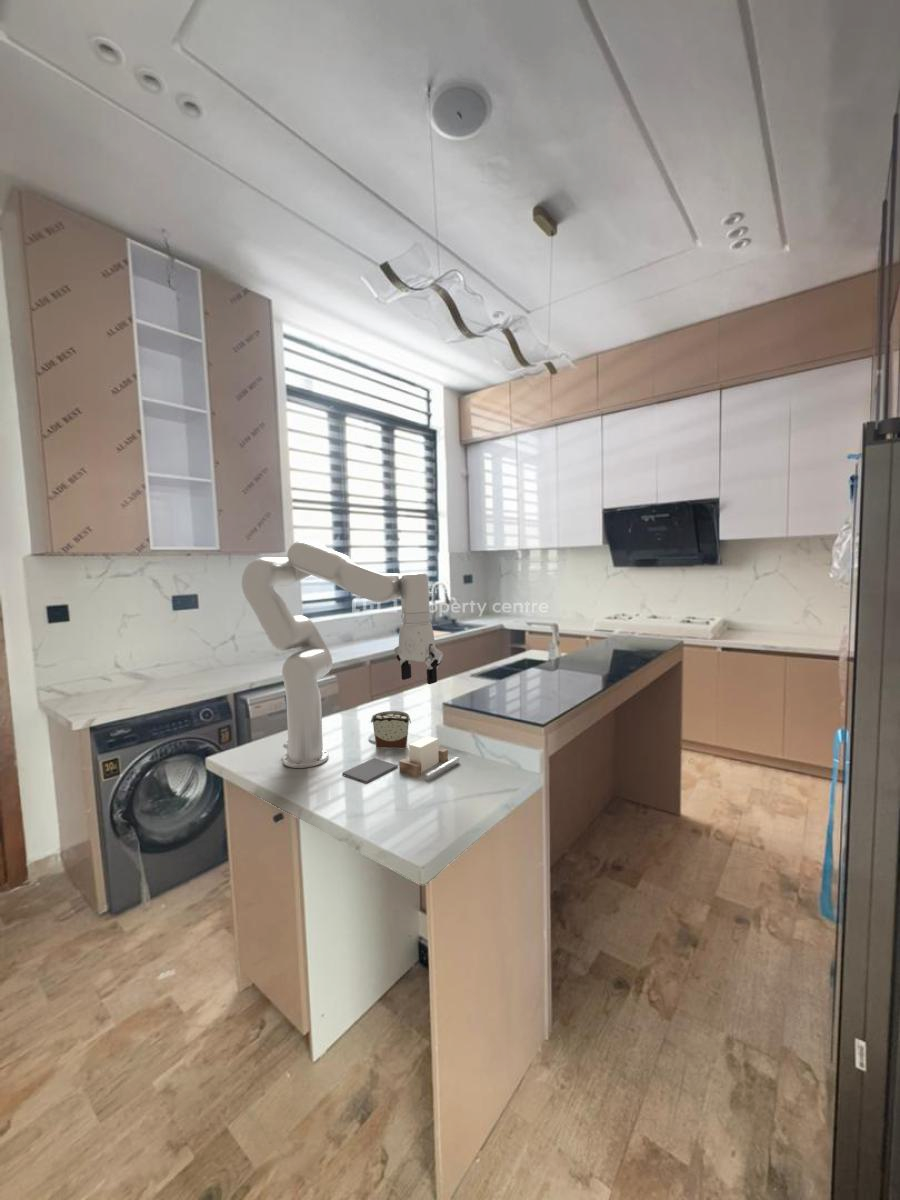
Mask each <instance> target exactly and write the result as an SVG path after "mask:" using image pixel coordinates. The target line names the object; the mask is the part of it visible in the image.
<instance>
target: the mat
mask: <svg viewBox="0 0 900 1200" xmlns="http://www.w3.org/2000/svg"><path fill="white" fill-rule="evenodd" d="M398 765H399V764H395V763H392V762H388V761H386V760H383V759H378V758H375V757H373V758H371V759H369V760H367V761H365V762H363V763H361V764H358V765H356V766H354V767H351V768H350V769H347V770H346V771H343V772H342V776H344V775H345V777H347V776H348V778H350V779H353V780H356V779H357V780H356V781H358V780H360V781H359V782H361V781H362V783H364V782H365V784H368V783H370V782H372V781H373V779H374V780H376V779H377V778H380V777H382V776H384V775H385V774H387V773H389V772H392V771H393V770H395V769H397V768H398ZM379 776H380V777H379ZM375 778H376V779H375ZM371 780H372V781H371ZM369 781H370V782H369ZM367 782H368V783H367Z"/></svg>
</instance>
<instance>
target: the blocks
mask: <svg viewBox="0 0 900 1200" xmlns="http://www.w3.org/2000/svg"><path fill="white" fill-rule="evenodd" d="M438 749H439V762H441V763H442V762H443V763H442V764H441V765H439V766H438V767H436V768H433V769H431V770H430V771H428V772H427V773H425V781H427V782H430V781H432V780H433V779H435V778H436V777H438V776H440V775H442V774H443V773H445V772H447V771H449V770H450V769H451V767H452V768H454V767H455V766H456V764H457V765H458V764H460V757H459V756H455V757H452V759H450V760H449V759H448V758H449V755H448V754H449V751H448V749H447V748H442V747H439V746H438ZM446 760H447V761H446ZM398 765H399V772H400V773H401V774H404V775H408V776H411V777H414V778H418V777H420V776H421V775H422V772H421V764H420V763H417V762H413V761H410V760H409V759H406V758H403V759H401V760H399V762H398ZM454 765H455V766H454Z"/></svg>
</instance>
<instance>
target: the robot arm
mask: <svg viewBox="0 0 900 1200" xmlns="http://www.w3.org/2000/svg"><path fill="white" fill-rule="evenodd" d="M310 576H313V577H316V578H318V579H322V580H324V581H326V582H330V583H332V584H334V585H336V586H337V587H339V588H341V589H343V590H345V591H347V592H348V593H351V594H353V595H355V596H358V597H360V598H363V599H366V600H368V601H371V602H375V603H386V602H390V601H393V600H400V601H401V603H400V604H401V615H400V617H401V619H402V620H401V622H402V623H400V624H399V632H398V633H399V634H398V645H397V646H396V647H395V648H394V649H393V651H394V653H395V655H396V659H397V660H398V662H399V666H400V671H401V680H403V681H405V680H409V679H411V678H412V665H411V663H410V662H416V663H423V662H424V663H425V665H426V667H427V669H426V683H427V684H428V685H432V684H435V683H437V682H438V675H437V674H438V673H437V669H438V668H439V665H440V664H441V662H442V659H443V656H444V653H443V651H441V650H440V649H438V648H437V647H436V641H435V634H434V629H433V625H432V623H431V612H430V611H431V610H430V608H431V607H430V589H429V578H428V577H429V576H428V575H427V574H426V573H424V572H409V573H407V572H406V573H394V572H393V573H392V572H391V573H390V572H389V573H380V572H377V571H374V570H370V569H368V568H365V567H363V566H360V565H358V564H356V563H354V562H353V561H352V559H350V557H349V556H348V555H346V554H343V553H342V552H338V551H335V550H333V549H329V548H328V547H327V546H326V545H325V544H323V543H321V542H318V541H312V540H311V541H310V540H298V541H296V542H294V543H291V545H290V546H289V547H288V550H287V553H286V556H283V557H278V556H276V557H274V556H264V557H259V558H258V557H257V558H256V559H253V560H252V561H249V563H248V564H247V565H246V566H245V568H244V570H243V573H242V576H241V587H242V588H241V589H242V591H243V594H244V597H245V599H246V600H247V602H248V604H249V606H250V607H251V608H252V610H253V612H254V613H255V615H256V617H257V619H258V621H259V623H260V625H261V627H262V629H263V631H264V632H265V635H266V636H267V638H268V640H269V642H270V644H271V645H272V647H273V649H275V650H277V651H278V652H288V651H289V652H290V651H293V650H294V651H295V652H294V653H292V654H291V655H289V656H288V657H287V658H286V659H285V661H284V662H283V665H282V670H281V675H282V680H283V686H284V689H285V701H286V717H287V719H286V720H287V723H286V724H287V741H286V742H285V743H283V745H282V747H283V748H284V749H285V750H286V751H287V753H286V754H285V755H284V757H282V761H283V762H282V763H283V765H284V766H286V767H288V768H293V769H304V768H312V767H316V766H319V765H321V764H323V763H325V762H326V761H328V759H329V752H328V751H327V749H324V744H323V743H324V742H323V720H322V719H323V716H322V715H323V714H322V696H321V691H320V686H319V684H318V680H319V679H322V677H325V676H327V674H328V673H329V672H330V671H331V669H332V666H333V658H332V654H331V652H330V650H329V648H328V646H327V645H326V643H325V641H324V639H323V637H322V635H321V633H320V632H319V629H318V628H317V626H316V625H315V624H314V622H313V621H312V620H311V619H310V618H308V617H306V616H305V615H299V614H298V615H296V614H295V615H292V613H291V611H290V610H289V608H288V606H287V604H286V602H285V601H284V599H283V597H281V596H280V595H279V593H277V592H276V590H275V587H285V586H289V585H293V584H295V583H297V582H299V581H302V580H303V579H306V578H307V577H308V578H309V577H310Z"/></svg>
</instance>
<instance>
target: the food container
mask: <svg viewBox="0 0 900 1200" xmlns="http://www.w3.org/2000/svg"><path fill="white" fill-rule="evenodd" d="M370 723H372V726H373V733H374V741H375V742H374V743H375V748H376V749H390V748H391V749H392V748H406V747H407V748H408V736H409V735H408V734H409V725H410V724H411V723H412V721H411V718H410V715H409V714H408V713H407V712H404V711H398V710H389V711H388V710H387V711H381V712H378V713H375V714H373V715H372V716H371V721H370ZM407 748H406V749H407ZM392 750H393V749H392Z"/></svg>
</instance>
